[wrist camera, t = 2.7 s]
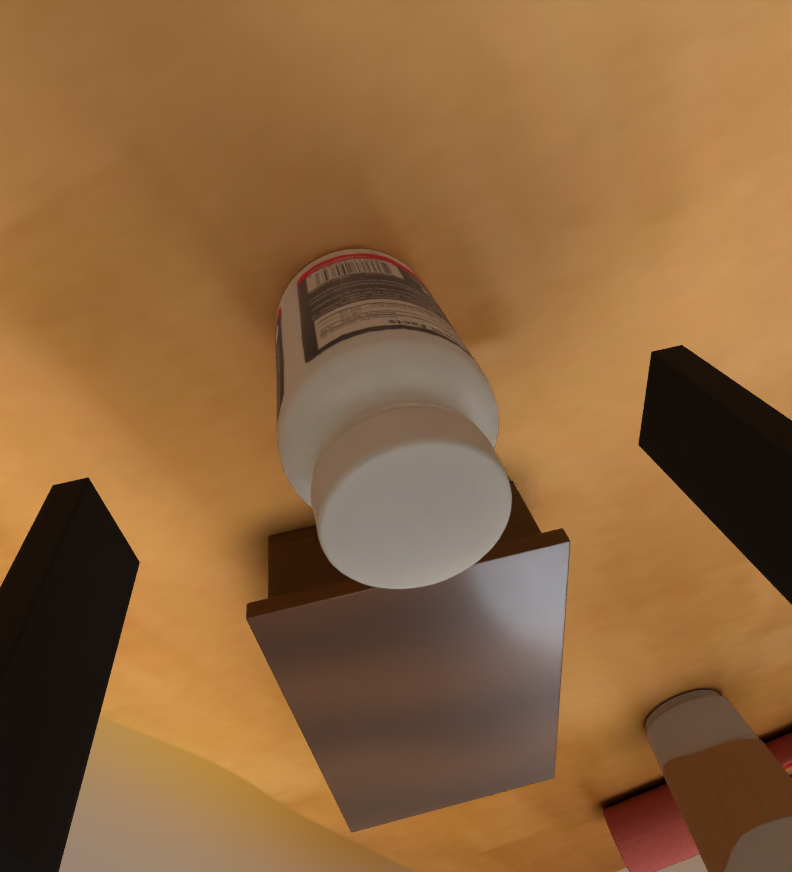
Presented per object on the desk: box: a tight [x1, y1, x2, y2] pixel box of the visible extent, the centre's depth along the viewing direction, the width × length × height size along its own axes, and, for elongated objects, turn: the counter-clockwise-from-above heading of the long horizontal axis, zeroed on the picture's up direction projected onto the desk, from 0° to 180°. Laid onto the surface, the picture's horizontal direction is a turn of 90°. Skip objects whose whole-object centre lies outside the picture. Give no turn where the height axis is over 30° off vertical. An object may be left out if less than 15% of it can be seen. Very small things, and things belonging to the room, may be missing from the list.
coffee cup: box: [645, 690, 792, 872], centre depth 34 cm, size 8×8×15 cm
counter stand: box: [246, 481, 570, 832], centre depth 28 cm, size 20×12×4 cm, turn 9°
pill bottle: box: [275, 249, 512, 589], centre depth 15 cm, size 5×5×10 cm
